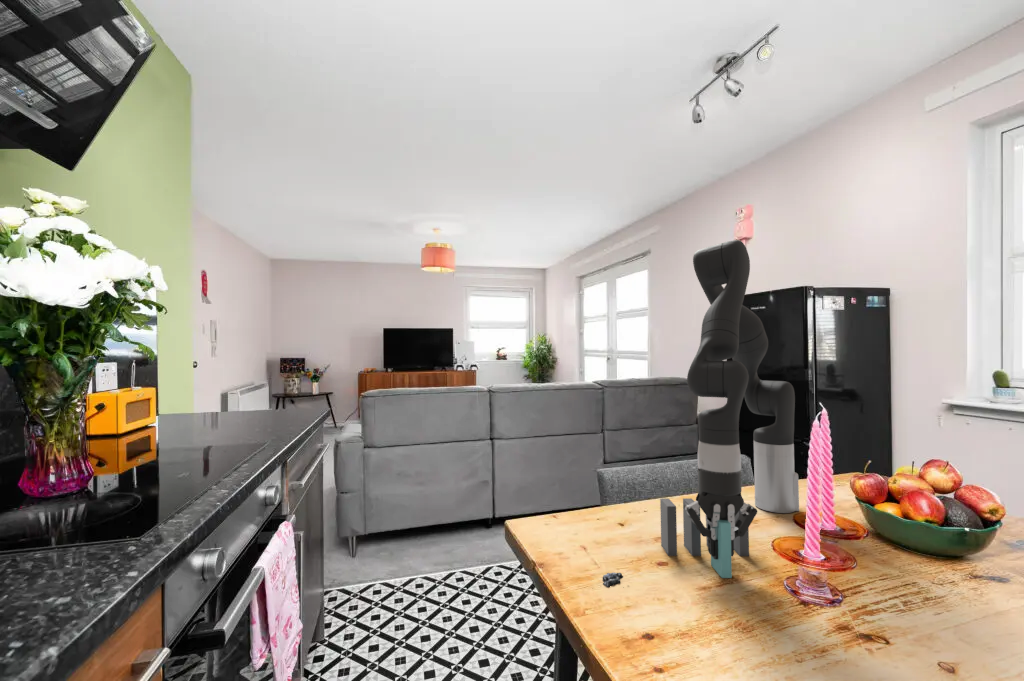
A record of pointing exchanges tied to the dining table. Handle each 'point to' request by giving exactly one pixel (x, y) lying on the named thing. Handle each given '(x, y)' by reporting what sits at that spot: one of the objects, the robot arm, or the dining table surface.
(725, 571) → the end domino
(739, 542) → the domino
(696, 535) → the domino
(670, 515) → the domino
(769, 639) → the dining table surface
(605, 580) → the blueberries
